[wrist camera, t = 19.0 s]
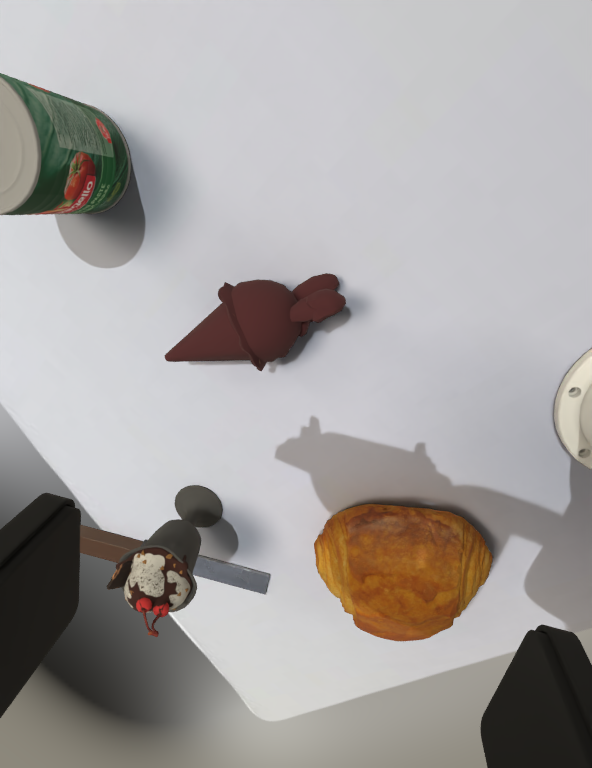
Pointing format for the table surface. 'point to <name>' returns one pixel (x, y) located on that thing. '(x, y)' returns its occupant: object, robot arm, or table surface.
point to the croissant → (402, 568)
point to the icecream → (259, 321)
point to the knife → (205, 567)
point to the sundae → (168, 558)
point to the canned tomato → (57, 154)
